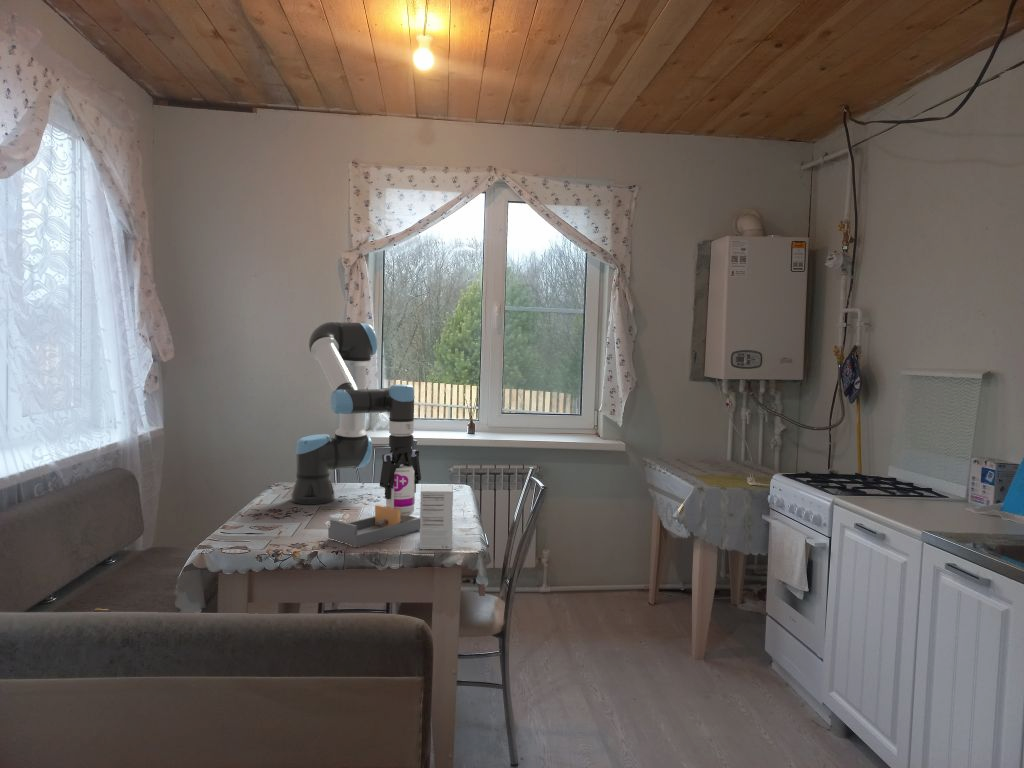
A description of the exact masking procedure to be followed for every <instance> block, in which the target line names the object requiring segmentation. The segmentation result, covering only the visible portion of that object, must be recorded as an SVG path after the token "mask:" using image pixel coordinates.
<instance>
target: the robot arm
mask: <svg viewBox="0 0 1024 768" xmlns="http://www.w3.org/2000/svg"><path fill="white" fill-rule="evenodd" d="M308 348H309V352H310V355H311V356H312V358H313V359H314V360H315V361H318V364H319V366H320V367H321V370H322V372H323V374H324V376H325V377H326V381H327V382H328V384H329V386H330V388H331V390H332V392H331V395H330V406H331V410H332V412H333V413H335V414H338V415H339V428H337V429H336V431H334V437H331V436H330V434H327V433H323V434H318V433H317V434H312V435H307V436H304V437H301V438H299V439H298V440H297V442H296V448H295V454H296V460H295V462H296V465H295V466H296V467H295V468H296V471H295V473H296V475H295V476H296V478H295V482H294V484H293V489H292V492H291V497H290V501H291V503H294V504H297V505H323V504H326V503H330V502H333V501H334V500H335V497H336V495H335V491H334V487H333V484H332V481H331V476H330V475H331V474H330V473H331V470H332V471H334V470H346V469H357V468H363V467H366V466H367V465H368V464H369V463H370V460H371V459H372V454H373V441H372V439H371V437H370V436H368V432H367V431H366V429H364V419H365V418H364V417H365V414H371V413H372V414H375V413H376V414H379V413H388V414H389V418H388V419H389V422H388V425H389V428H388V432H389V436H388V441H389V442H388V446H389V448H390V451H389V453H388V454H382V457H381V459H382V464H381V465H382V466H381V472H380V479H379V487H381V488H384V499H385V506H386V507H390V508H394V488H392V486H393V483H394V473H395V470H396V468H400V465H402V464H403V465H405V466H411V465H412V466H413V469H414V505H415V503H416V501H415V500H416V499H415V498H416V492H417V485H418V484H419V483H420V482H419V481H421V480H422V475H421V468H420V467H421V466H420V459H419V458H420V450H418V449H413V448H412V447H414V439H415V436H414V431H415V430H414V423H415V422H414V421H415V420H414V419H415V418H414V417H415V388H414V386H413V385H411V384H403V383H402V384H399V383H398V384H391V386H390V387H385V388H384V387H382V388H374V389H373V388H371V389H368V388H367V389H366V374H367V365H368V363H370V362H371V357H372V356H374V355H376V354H377V351H378V338H377V334H376V332H375V329H374V327H373V326H372V325H371V324H369V323H363V322H340V321H339V322H337V321H328V322H324V323H322V324H320V325H318V326H317V327H316V328H315V329H314V330H313V331H312V332H311V334H310V338H309V339H308Z"/></svg>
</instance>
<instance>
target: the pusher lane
mask: <svg viewBox="0 0 1024 768" xmlns="http://www.w3.org/2000/svg"><path fill="white" fill-rule="evenodd" d="M327 529H328V530H327V531H328V532H327V533H328V534H327V535H328V536H327V537H328V538H330V539H334V540H337V541H340V542H343V543H347V544H350V545H352V546H355V547H358V548H360V547H359V546H361V547H364V546H363V545H365V546H367V545H366V544H368V545H371V544H375V543H378V542H381V541H380V540H382V541H385V540H388V538H389V539H392V538H395V536H396V537H399V536H402V535H405V534H409V533H413V532H416V530H417V531H420V530H419V529H420V516H415V515H412V514H411V515H408V516H400V523H398V524H394V525H390V526H387V527H383V526H378V525H376V524H375V515H373V516H370V517H366V518H365V517H364V518H363V519H358V520H353V521H350V522H345V521H342V520H338V519H334V518H332V519H329V526H328V528H327ZM328 538H327V539H328ZM384 539H385V540H384ZM377 541H378V542H377ZM374 542H375V543H374ZM370 543H371V544H370ZM355 547H354V548H355Z"/></svg>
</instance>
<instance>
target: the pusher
mask: <svg viewBox="0 0 1024 768" xmlns="http://www.w3.org/2000/svg"><path fill="white" fill-rule="evenodd" d="M374 509H375V510H374V514H375V515H374V516H375V524H376V525H378V526H383V527H387V526H390V525H394V524H398V523H400V512H401V510H399V509H394V508H390V507H386V505H381V504H376V505H375V506H374Z"/></svg>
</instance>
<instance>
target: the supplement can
mask: <svg viewBox="0 0 1024 768" xmlns="http://www.w3.org/2000/svg"><path fill="white" fill-rule="evenodd" d="M392 488H394V509H399V510H401V512H400V516H408V515H412V514H413V513H414V511H415V504H414V469H413V466H412V465H411V466H405V465H403V464H402V465H400V468H396V470H395V473H394V483H393V486H392Z"/></svg>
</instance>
